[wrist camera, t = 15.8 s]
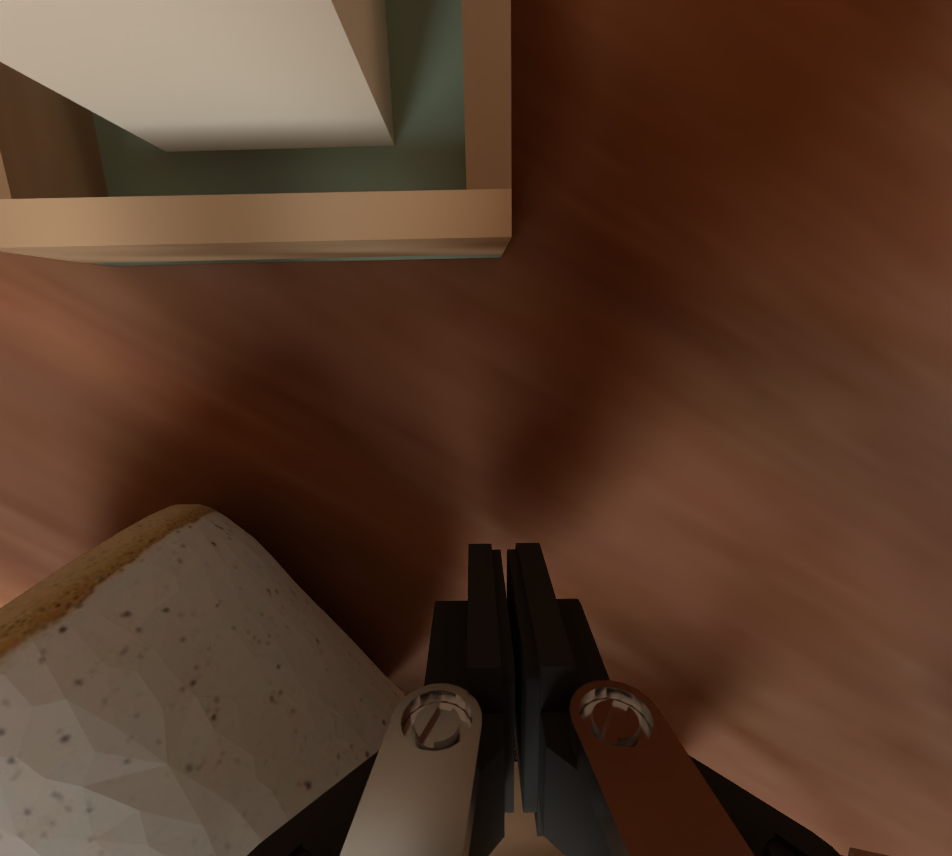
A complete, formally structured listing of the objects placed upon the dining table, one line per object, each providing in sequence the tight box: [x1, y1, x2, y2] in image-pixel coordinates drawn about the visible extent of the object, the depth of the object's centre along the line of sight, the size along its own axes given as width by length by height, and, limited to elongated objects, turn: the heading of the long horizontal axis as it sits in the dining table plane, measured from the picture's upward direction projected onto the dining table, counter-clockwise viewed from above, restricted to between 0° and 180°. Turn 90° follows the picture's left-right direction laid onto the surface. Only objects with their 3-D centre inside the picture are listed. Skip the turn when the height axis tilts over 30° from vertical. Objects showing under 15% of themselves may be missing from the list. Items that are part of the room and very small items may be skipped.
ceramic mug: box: [0, 504, 406, 856], centre depth 10 cm, size 11×8×8 cm
